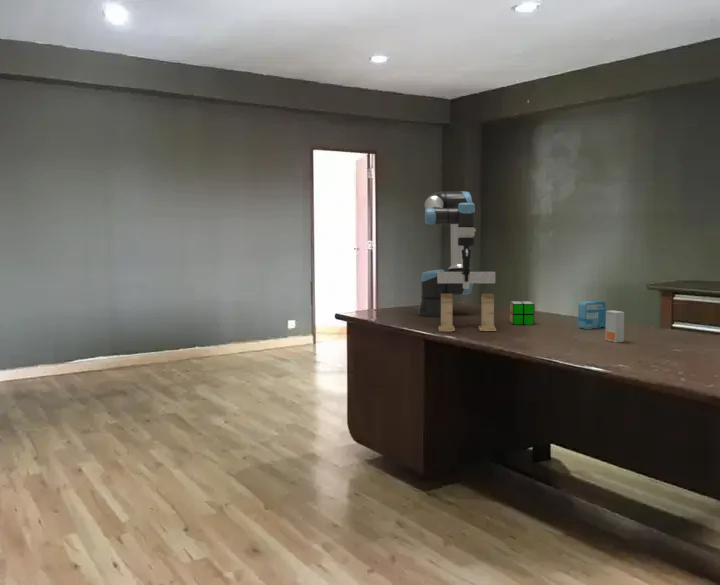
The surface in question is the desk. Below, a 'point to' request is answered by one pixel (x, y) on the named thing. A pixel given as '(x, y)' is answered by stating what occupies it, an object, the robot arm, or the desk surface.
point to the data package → (591, 314)
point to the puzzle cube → (522, 312)
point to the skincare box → (614, 326)
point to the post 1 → (446, 313)
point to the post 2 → (487, 313)
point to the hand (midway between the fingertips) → (465, 288)
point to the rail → (458, 277)
